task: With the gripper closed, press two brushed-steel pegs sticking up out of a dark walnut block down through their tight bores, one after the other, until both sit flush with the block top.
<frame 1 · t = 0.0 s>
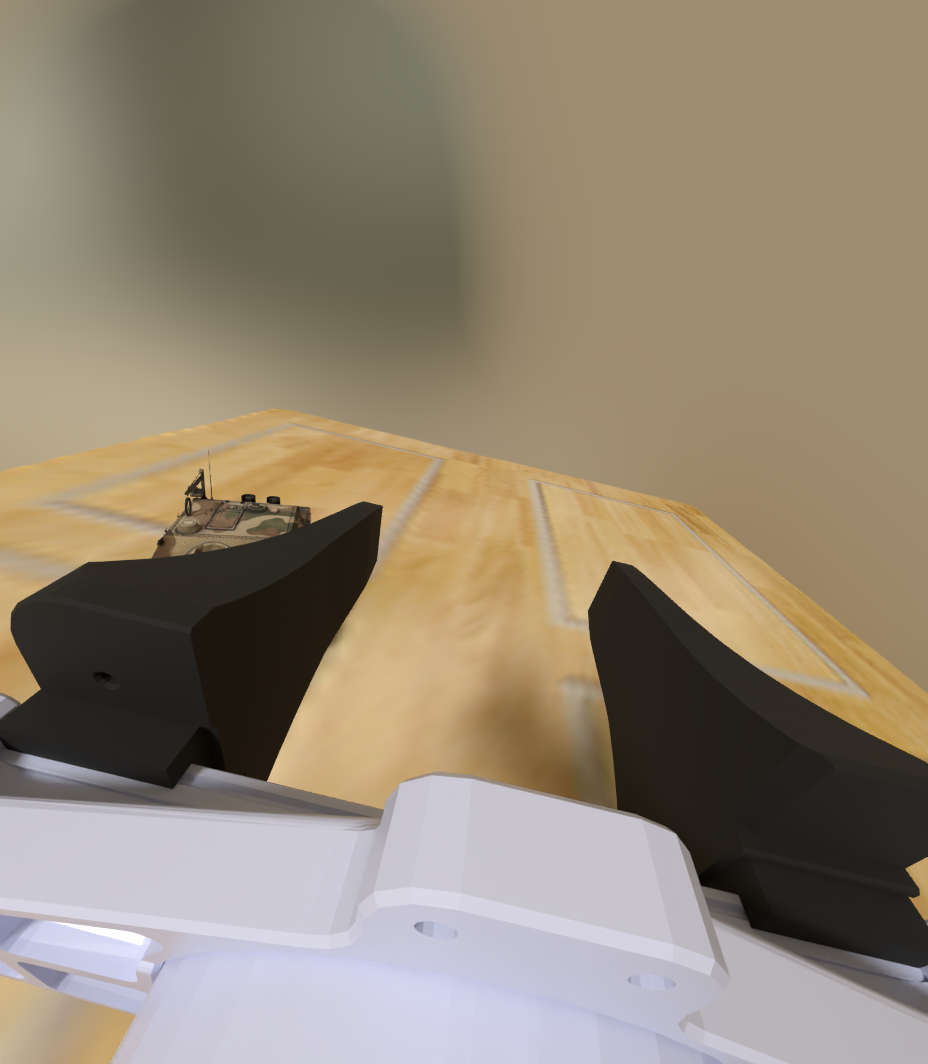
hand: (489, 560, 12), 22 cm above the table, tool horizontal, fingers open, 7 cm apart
model tank: (244, 596, 40), on the table
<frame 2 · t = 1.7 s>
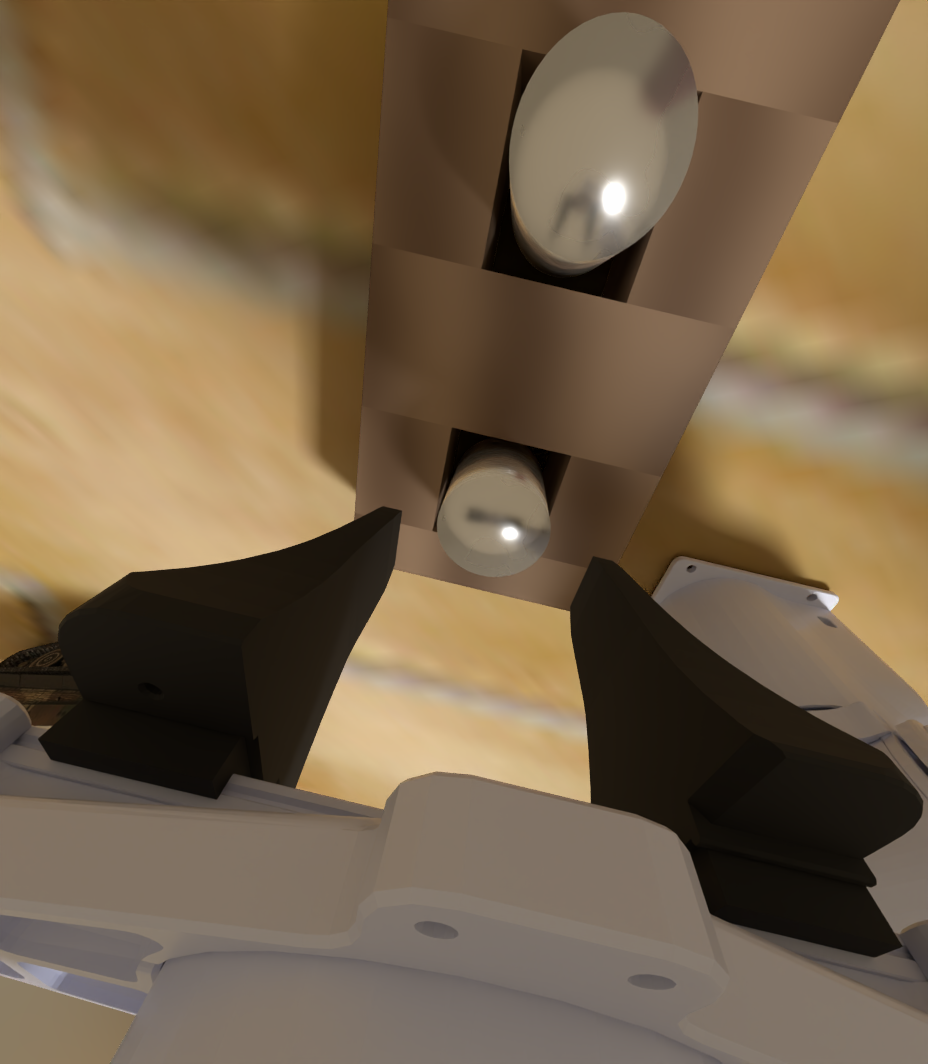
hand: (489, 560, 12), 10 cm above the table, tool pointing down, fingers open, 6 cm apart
walnut block: (527, 358, 18), on the table
peg b: (495, 502, 16), point 6 cm above the table, slide at 0.0 cm
model tank: (159, 686, 35), on the table
peg a: (583, 183, 11), point 6 cm above the table, slide at 0.0 cm
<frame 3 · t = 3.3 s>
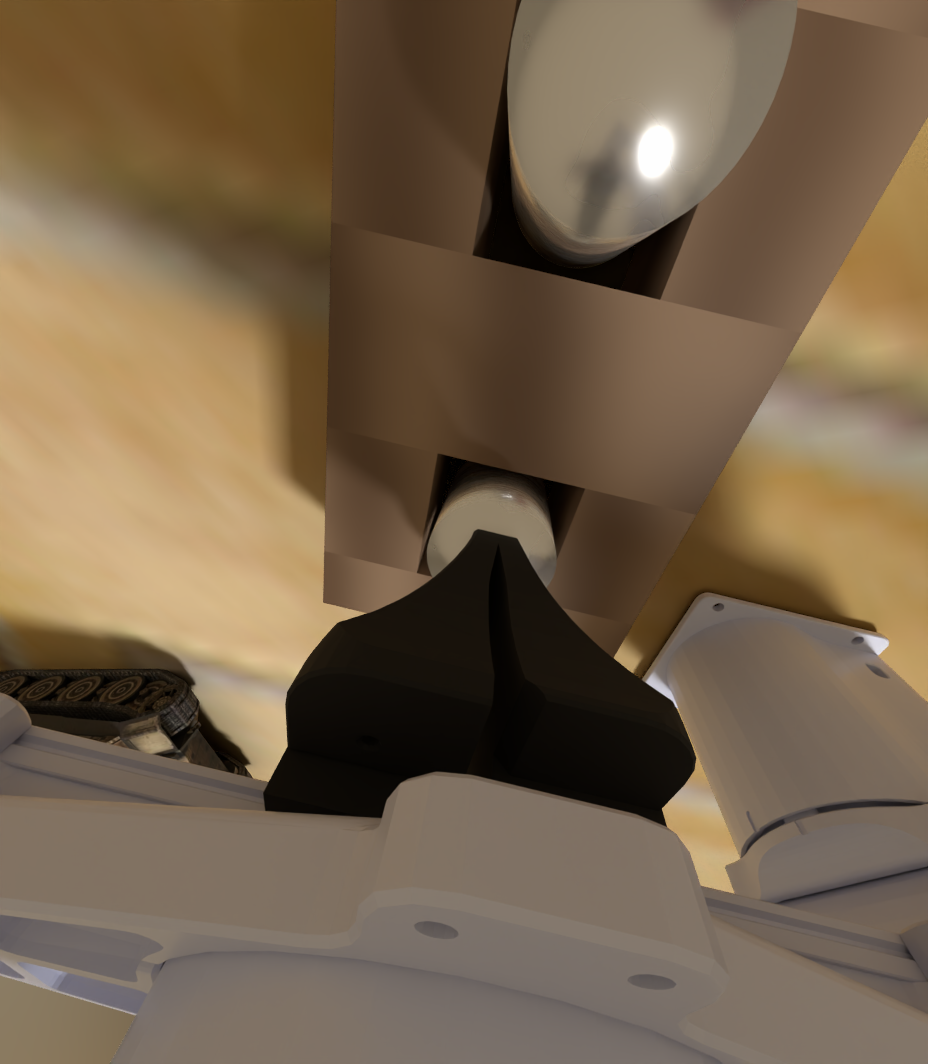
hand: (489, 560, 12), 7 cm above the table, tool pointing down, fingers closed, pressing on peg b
walnut block: (530, 366, 15), on the table
peg b: (494, 525, 14), point 4 cm above the table, slide at 1.3 cm, touching gripper
model tank: (128, 716, 32), on the table
peg a: (608, 136, 8), point 6 cm above the table, slide at 0.0 cm
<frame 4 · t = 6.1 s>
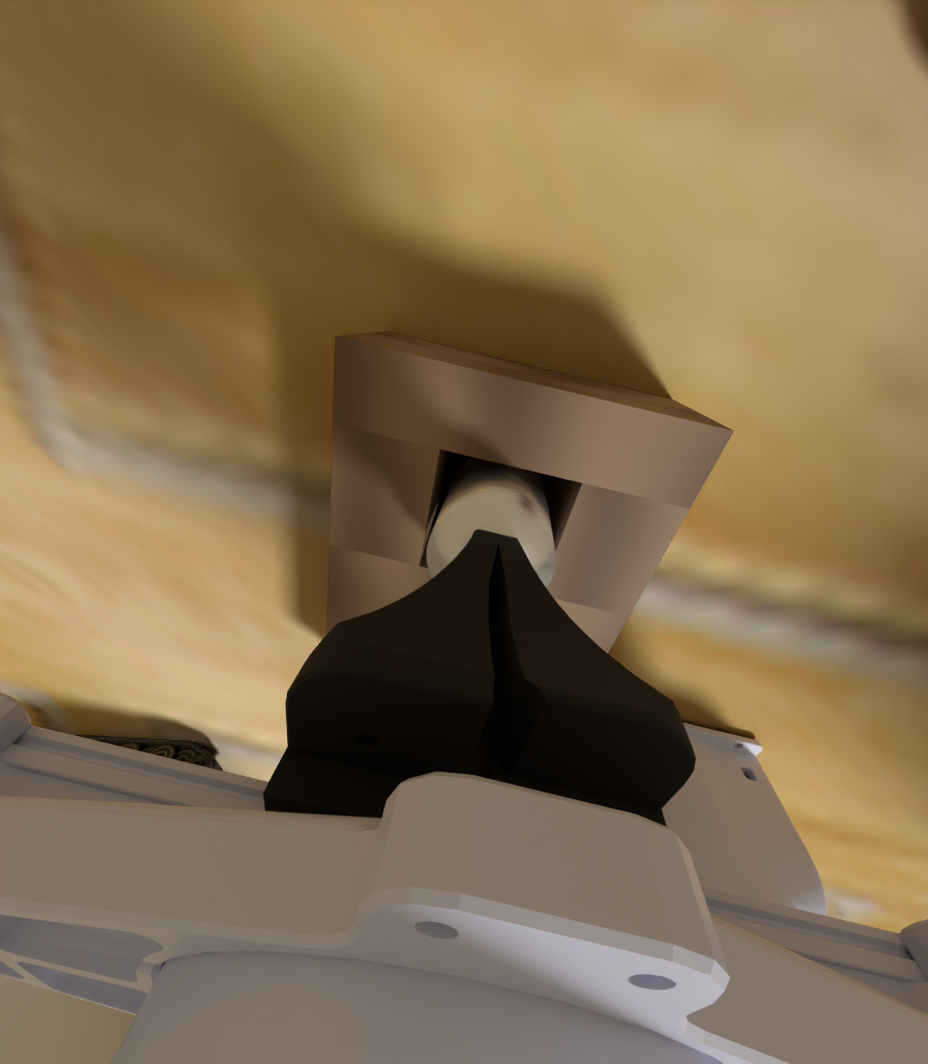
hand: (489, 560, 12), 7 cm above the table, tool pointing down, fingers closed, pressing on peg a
walnut block: (476, 563, 21), on the table
model tank: (155, 771, 38), on the table
peg a: (493, 525, 14), point 5 cm above the table, slide at 0.8 cm, touching gripper
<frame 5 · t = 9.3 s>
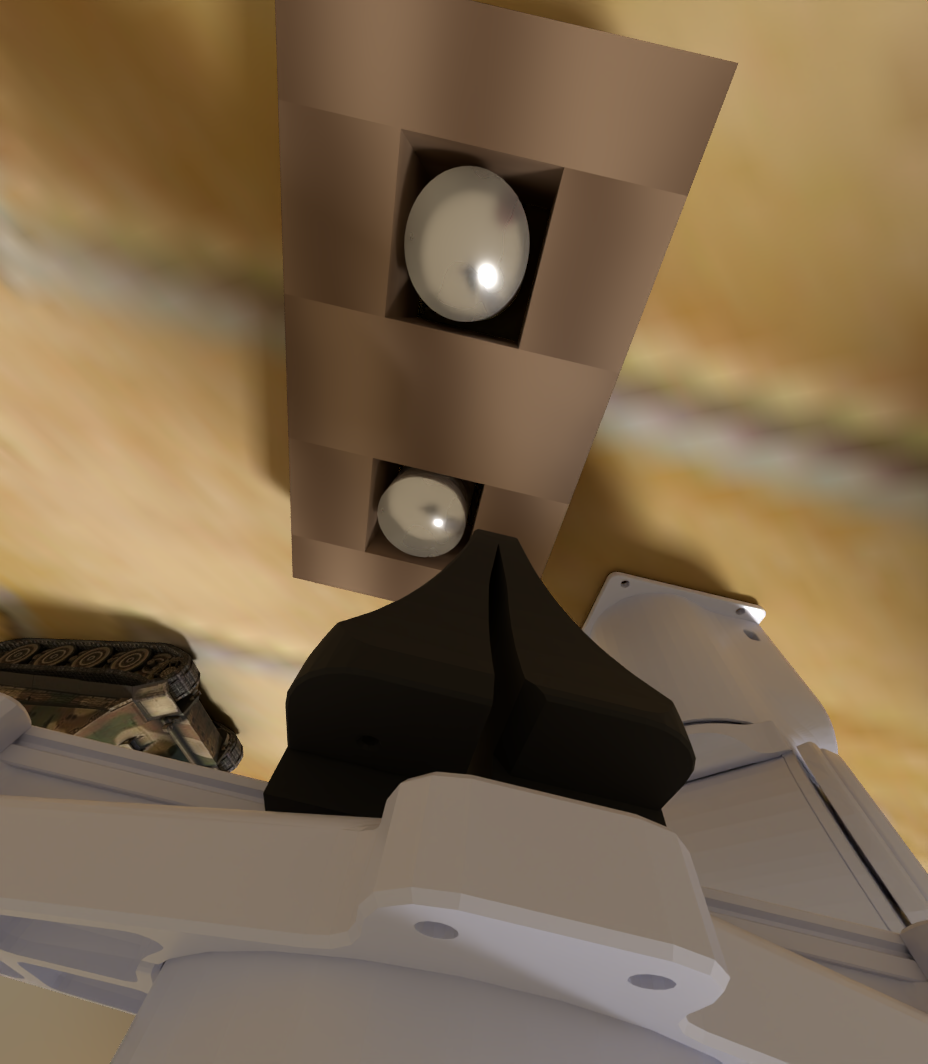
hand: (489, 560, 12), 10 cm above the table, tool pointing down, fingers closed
walnut block: (456, 387, 19), on the table
peg b: (431, 497, 19), point 3 cm above the table, slide at 3.1 cm
model tank: (130, 685, 36), on the table
peg a: (473, 259, 14), point 3 cm above the table, slide at 3.1 cm
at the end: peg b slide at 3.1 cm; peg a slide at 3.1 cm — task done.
